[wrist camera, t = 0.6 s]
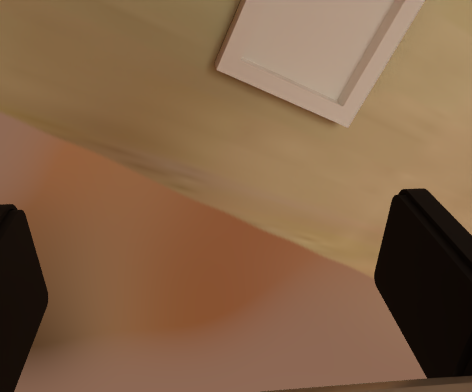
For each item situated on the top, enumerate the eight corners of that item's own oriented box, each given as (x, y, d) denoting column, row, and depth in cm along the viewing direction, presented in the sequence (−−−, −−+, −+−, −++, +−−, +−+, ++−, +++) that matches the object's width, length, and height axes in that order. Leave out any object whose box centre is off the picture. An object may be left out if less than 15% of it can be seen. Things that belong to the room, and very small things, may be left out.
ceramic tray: (284, -104, 31) (292, -108, 29) (421, -21, 35) (436, -19, 33) (214, 62, 36) (216, 69, 34) (339, 118, 40) (348, 127, 38)
